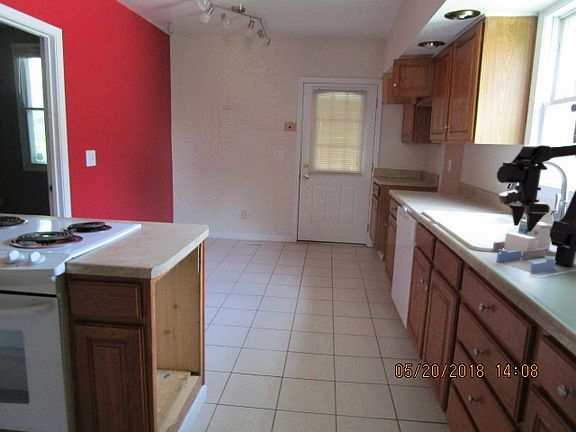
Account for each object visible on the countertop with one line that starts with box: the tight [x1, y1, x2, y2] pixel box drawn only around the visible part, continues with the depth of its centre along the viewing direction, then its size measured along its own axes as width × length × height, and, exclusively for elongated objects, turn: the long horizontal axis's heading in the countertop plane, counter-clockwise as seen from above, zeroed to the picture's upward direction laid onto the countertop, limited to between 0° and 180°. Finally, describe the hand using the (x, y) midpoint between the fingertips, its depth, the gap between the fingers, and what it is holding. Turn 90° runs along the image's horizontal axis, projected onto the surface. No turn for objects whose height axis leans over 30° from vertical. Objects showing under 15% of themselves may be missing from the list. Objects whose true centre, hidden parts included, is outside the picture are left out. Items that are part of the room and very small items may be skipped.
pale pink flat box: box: [504, 232, 536, 256], centre depth 151 cm, size 4×9×7 cm, turn 26°
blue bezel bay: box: [496, 250, 557, 274], centre depth 136 cm, size 12×13×4 cm
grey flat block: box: [492, 240, 547, 260], centre depth 151 cm, size 12×13×3 cm
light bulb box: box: [517, 219, 553, 250], centre depth 162 cm, size 11×7×11 cm, turn 14°
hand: (522, 228), depth 134 cm, fingers open, 9 cm apart
